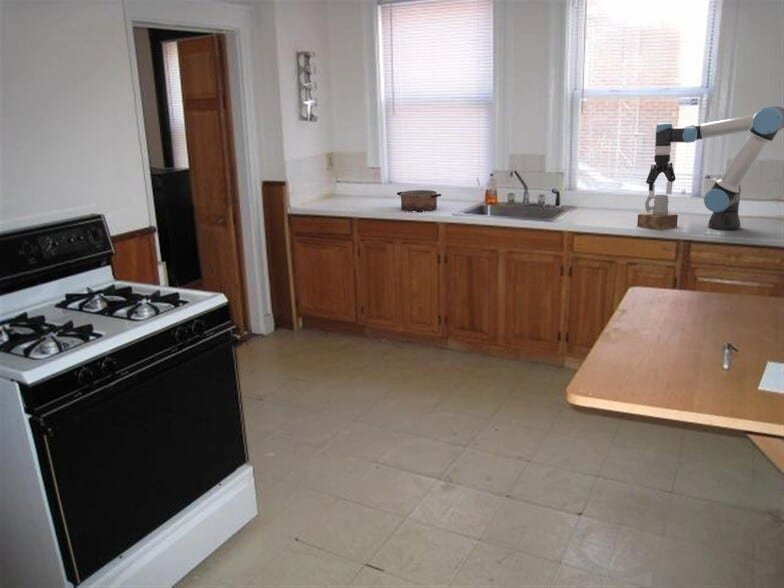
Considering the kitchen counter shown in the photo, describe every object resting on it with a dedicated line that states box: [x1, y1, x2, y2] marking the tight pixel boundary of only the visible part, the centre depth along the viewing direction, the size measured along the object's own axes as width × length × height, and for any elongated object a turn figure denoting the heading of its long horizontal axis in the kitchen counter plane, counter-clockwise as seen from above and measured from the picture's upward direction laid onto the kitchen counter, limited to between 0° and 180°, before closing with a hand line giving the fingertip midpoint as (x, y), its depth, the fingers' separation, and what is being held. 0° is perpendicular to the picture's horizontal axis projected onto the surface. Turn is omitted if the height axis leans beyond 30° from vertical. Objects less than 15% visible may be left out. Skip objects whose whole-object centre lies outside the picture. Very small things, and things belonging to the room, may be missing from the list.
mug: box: [644, 194, 670, 215], centre depth 370 cm, size 8×12×12 cm, turn 80°
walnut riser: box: [637, 211, 679, 230], centre depth 373 cm, size 14×14×6 cm
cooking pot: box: [396, 189, 442, 213], centre depth 446 cm, size 30×22×11 cm
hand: (660, 195), depth 369 cm, fingers open, 13 cm apart
